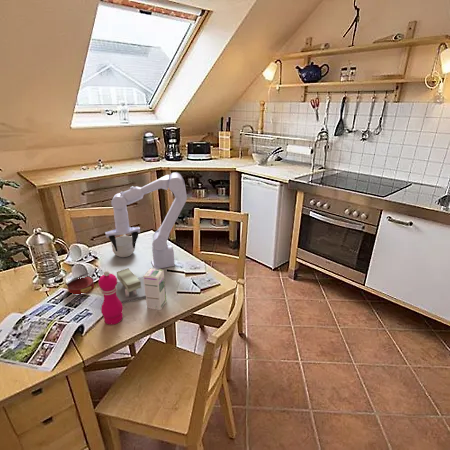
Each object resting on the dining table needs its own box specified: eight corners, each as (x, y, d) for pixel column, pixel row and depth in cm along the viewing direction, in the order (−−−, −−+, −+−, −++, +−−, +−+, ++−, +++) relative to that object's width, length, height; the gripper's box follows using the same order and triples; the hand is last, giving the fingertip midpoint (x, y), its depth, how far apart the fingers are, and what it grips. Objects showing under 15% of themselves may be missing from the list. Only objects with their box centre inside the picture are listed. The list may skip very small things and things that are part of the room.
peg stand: (148, 277, 137) (147, 269, 136) (155, 295, 126) (155, 286, 124) (105, 286, 130) (103, 278, 129) (108, 306, 119) (107, 297, 117)
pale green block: (141, 287, 123) (140, 281, 122) (128, 292, 121) (128, 285, 119) (129, 274, 132) (128, 268, 131) (117, 278, 129) (116, 272, 128)
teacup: (132, 260, 151) (130, 245, 148) (109, 259, 151) (107, 244, 148) (139, 246, 164) (138, 232, 161) (119, 246, 164) (117, 232, 161)
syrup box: (161, 310, 117) (158, 277, 111) (146, 308, 118) (143, 275, 112) (166, 301, 122) (164, 269, 116) (152, 299, 123) (149, 267, 117)
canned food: (74, 304, 127) (56, 289, 121) (78, 288, 135) (62, 273, 130) (98, 291, 126) (82, 275, 121) (101, 276, 135) (85, 260, 129)
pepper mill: (106, 312, 115) (98, 266, 107) (126, 312, 116) (119, 265, 108) (100, 326, 109) (91, 277, 101) (121, 325, 109) (114, 276, 101)
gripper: (137, 215, 142) (139, 242, 148) (103, 220, 137) (107, 247, 142) (139, 221, 136) (142, 248, 142) (104, 226, 131) (109, 254, 136)
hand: (125, 248), depth 142 cm, fingers open, 7 cm apart
